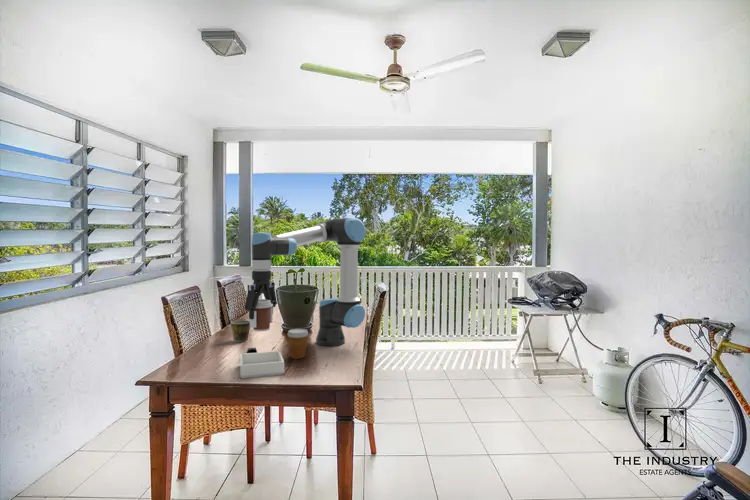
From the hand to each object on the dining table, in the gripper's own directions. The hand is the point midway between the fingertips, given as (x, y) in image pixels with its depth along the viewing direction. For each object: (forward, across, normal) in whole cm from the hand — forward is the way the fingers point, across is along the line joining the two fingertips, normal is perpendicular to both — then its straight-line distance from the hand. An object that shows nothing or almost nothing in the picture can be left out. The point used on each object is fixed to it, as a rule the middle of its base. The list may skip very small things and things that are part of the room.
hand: (261, 324), depth 165 cm
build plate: (+19, -12, -16) cm, 28 cm away
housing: (+19, 0, 0) cm, 19 cm away
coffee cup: (+2, 0, 0) cm, 2 cm away
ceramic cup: (+19, -30, -41) cm, 54 cm away
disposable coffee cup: (+19, -22, +2) cm, 29 cm away
